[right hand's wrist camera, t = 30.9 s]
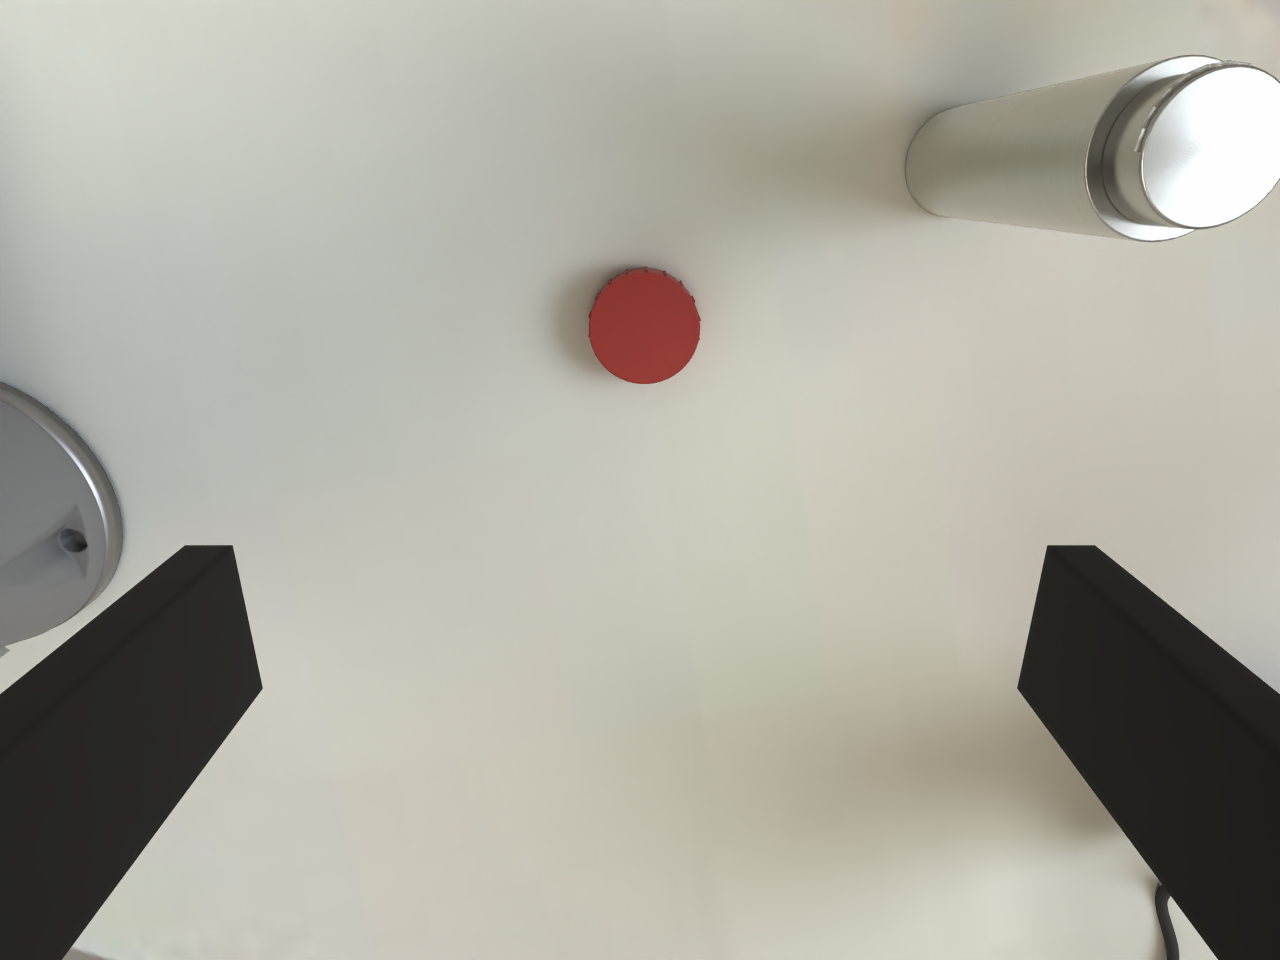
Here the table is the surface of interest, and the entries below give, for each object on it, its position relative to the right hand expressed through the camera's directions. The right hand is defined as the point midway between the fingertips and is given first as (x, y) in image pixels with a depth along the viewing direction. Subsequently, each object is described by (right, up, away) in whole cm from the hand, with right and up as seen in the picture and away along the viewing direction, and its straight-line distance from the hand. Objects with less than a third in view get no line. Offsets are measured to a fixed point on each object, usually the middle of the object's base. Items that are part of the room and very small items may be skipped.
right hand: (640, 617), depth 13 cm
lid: (0, +10, +25) cm, 27 cm away
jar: (+15, +17, +24) cm, 33 cm away
